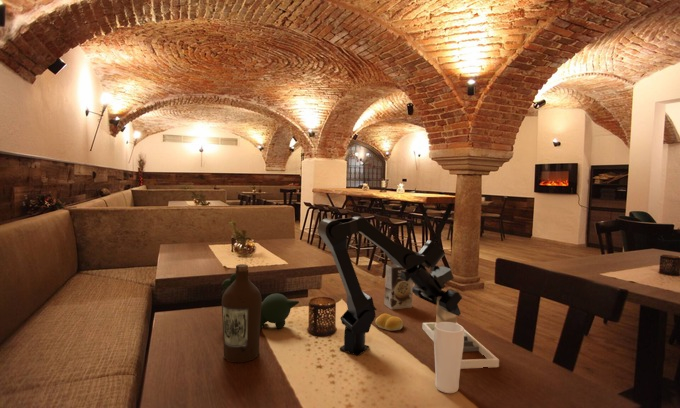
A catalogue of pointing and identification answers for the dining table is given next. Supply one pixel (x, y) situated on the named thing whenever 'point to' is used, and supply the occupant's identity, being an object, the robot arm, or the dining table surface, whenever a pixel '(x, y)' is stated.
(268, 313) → the toy figurine
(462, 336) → the drinking glass
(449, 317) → the maple block
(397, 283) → the white cardboard box
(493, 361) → the box
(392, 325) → the bread roll
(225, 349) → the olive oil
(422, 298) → the robot arm
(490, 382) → the dining table surface
